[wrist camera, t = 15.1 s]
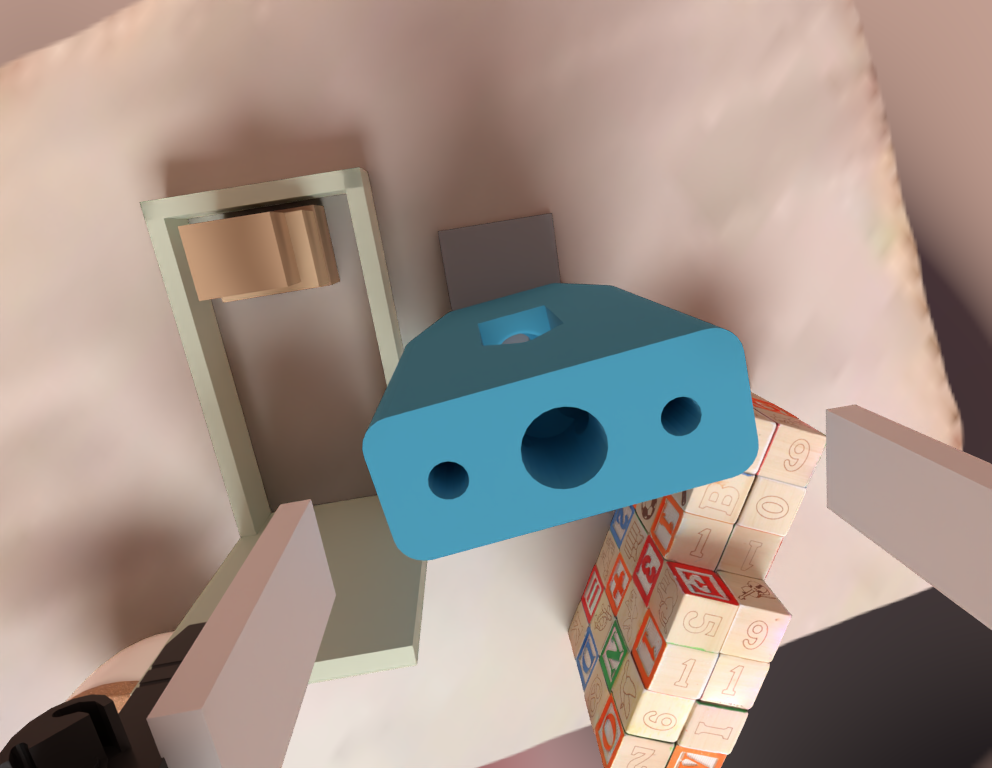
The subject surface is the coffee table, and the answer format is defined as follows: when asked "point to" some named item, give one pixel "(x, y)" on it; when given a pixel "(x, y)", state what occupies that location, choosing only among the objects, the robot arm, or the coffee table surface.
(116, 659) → the lidded bowl
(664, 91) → the coffee table surface
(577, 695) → the coffee table surface
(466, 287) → the felt mat
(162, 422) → the coffee table surface
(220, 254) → the offcut stack
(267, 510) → the frame
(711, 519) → the stack of blocks
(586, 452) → the block
